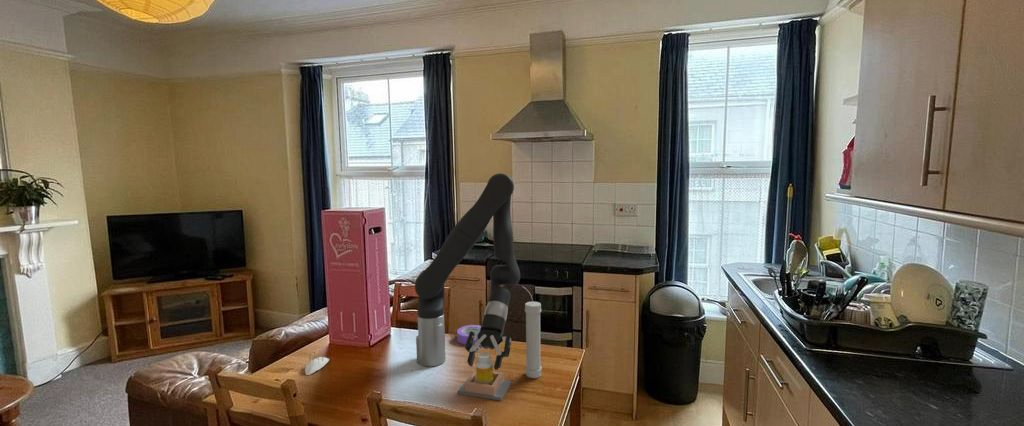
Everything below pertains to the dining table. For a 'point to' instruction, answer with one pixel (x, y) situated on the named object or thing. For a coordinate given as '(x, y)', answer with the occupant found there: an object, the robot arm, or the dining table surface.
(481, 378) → the supplement bottle
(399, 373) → the dining table surface
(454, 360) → the dining table surface
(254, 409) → the dining table surface
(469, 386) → the holder
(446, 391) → the dining table surface
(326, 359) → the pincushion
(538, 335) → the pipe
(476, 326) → the masking tape
